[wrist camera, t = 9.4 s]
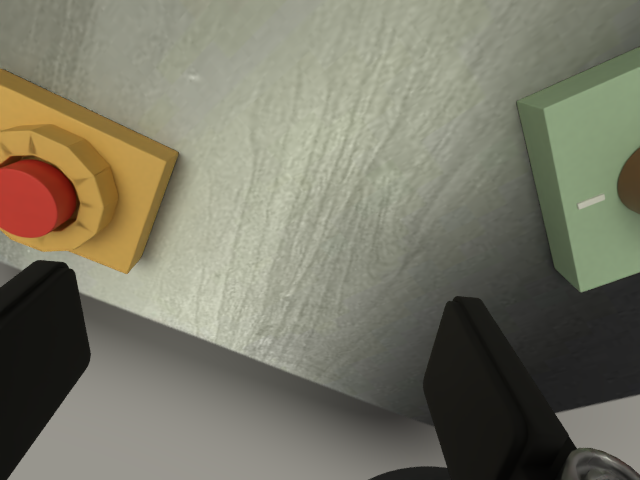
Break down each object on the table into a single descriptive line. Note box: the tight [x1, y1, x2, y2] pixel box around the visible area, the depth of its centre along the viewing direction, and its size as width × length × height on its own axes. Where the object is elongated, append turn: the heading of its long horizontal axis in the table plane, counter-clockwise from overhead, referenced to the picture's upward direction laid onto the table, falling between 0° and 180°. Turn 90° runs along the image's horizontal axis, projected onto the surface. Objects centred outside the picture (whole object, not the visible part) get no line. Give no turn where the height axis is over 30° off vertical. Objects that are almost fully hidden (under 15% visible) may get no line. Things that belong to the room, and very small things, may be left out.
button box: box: [0, 69, 179, 274], centre depth 22 cm, size 10×8×4 cm
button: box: [0, 159, 76, 238], centre depth 20 cm, size 4×4×2 cm
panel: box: [517, 47, 640, 292], centre depth 22 cm, size 12×10×3 cm
